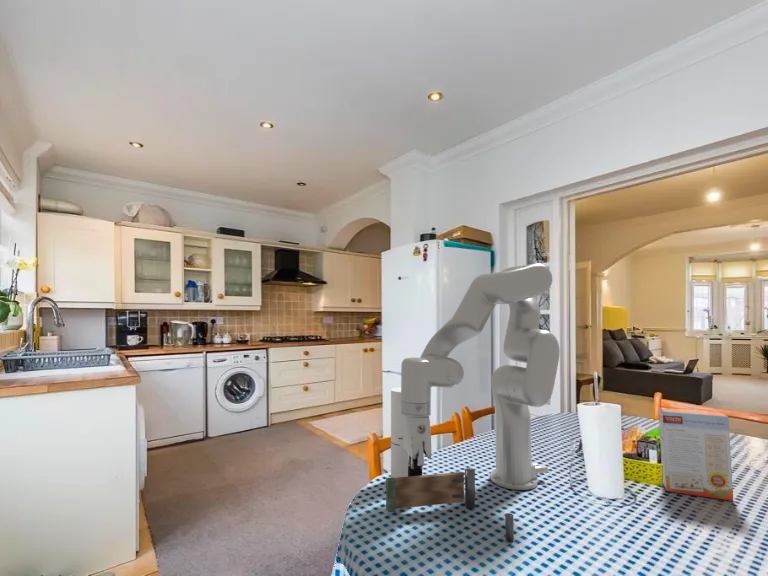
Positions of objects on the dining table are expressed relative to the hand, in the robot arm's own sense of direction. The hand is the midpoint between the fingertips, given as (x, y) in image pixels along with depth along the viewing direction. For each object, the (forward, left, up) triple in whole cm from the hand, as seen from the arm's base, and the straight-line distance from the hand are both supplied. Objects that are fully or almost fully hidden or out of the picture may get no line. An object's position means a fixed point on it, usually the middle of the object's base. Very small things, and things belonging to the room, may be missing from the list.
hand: (414, 483), depth 98 cm
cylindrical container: (0, -12, -5) cm, 13 cm away
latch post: (-14, +20, -5) cm, 25 cm away
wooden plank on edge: (-1, +5, -3) cm, 6 cm away
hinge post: (-12, +5, -5) cm, 14 cm away
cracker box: (-73, +10, -5) cm, 74 cm away
